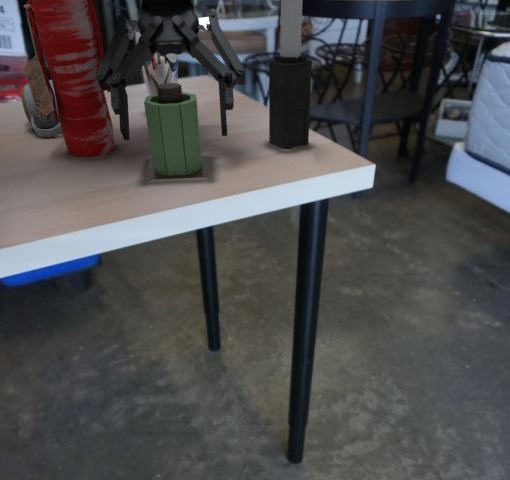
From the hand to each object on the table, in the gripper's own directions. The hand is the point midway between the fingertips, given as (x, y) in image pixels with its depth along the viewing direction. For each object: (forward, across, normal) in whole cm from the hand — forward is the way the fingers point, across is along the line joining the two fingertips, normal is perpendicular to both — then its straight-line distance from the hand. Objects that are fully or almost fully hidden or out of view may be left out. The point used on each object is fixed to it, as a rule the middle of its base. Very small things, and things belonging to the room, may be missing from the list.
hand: (174, 133), depth 73 cm
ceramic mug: (-15, +24, -24) cm, 37 cm away
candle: (-2, -17, -12) cm, 21 cm away
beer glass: (-18, +4, -27) cm, 33 cm away
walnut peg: (+4, 0, -5) cm, 6 cm away
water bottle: (-3, +16, -12) cm, 20 cm away
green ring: (+3, 0, -4) cm, 5 cm away
